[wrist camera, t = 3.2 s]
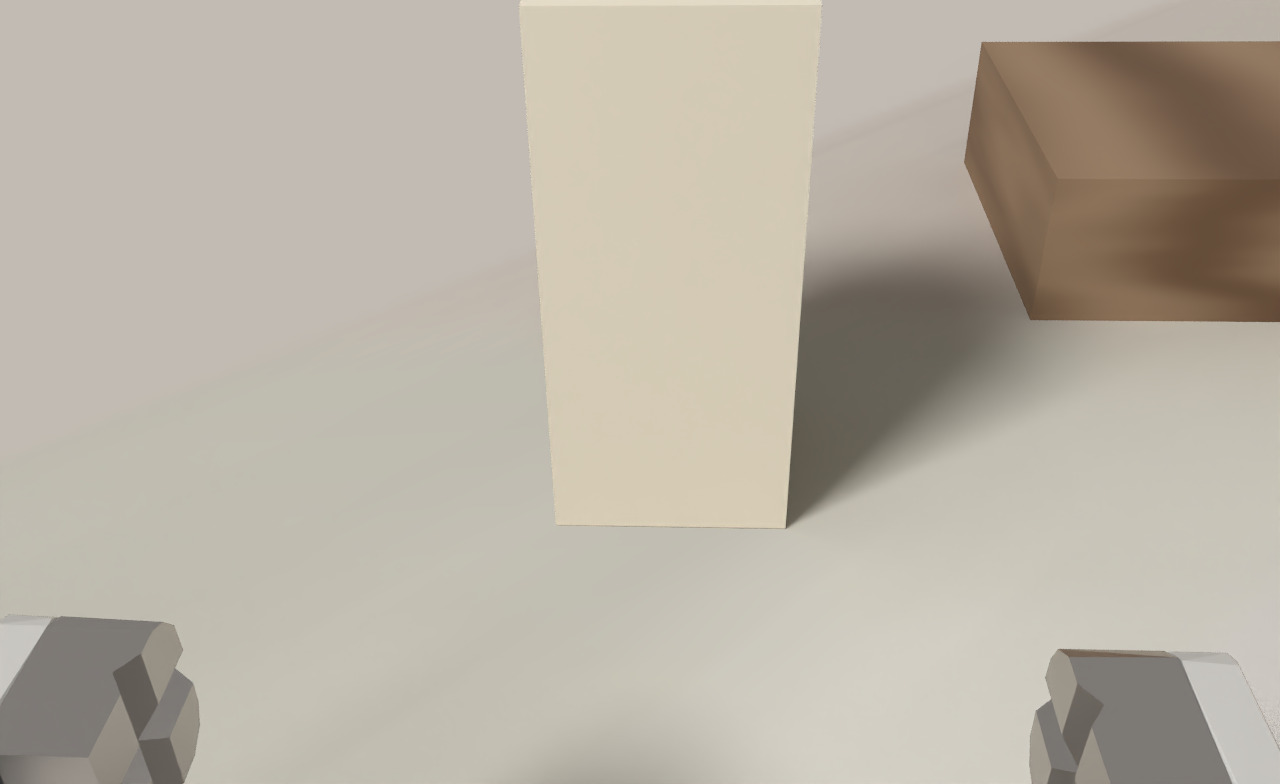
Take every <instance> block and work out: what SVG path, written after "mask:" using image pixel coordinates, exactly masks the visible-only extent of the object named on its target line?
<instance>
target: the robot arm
mask: <svg viewBox="0 0 1280 784" xmlns="http://www.w3.org/2000/svg"><path fill="white" fill-rule="evenodd" d="M182 651H183V648H182V646H181V643H180V640H179V637H178V635H177V632H176V629H175V626H174V625H171V624H168V623H164V622H152V621H134V620H116V619H99V618H81V617H63V616H61V617H48V616H29V615H11V614H9V615H7V616H6V617H4V618H3V619H1V620H0V784H183V783H184V782H185V779H186V777H187V774H188V771H189V769H190V766H191V764H192V761H193V759H194V756H195V751H196V745H197V739H198V733H199V727H200V718H199V703H198V698H197V695H196V691H195V688H194V684H193V683H192V682H191V681H190V680H189V679H187V678H186V677H185V676H184V675H183V674H181V673H180V672H179V671H178V670H176V669H175V667H176V665H177V662H178V660H179V658H180V656H181V654H182ZM1045 679H1046V682H1047V686H1048V689H1049V693H1050V696H1051V700H1050V701H1049V702H1047V703H1046V704H1045V705H1043V706H1042V707H1041V708H1039V709H1038V710H1037V711H1036V713H1035V717H1034V722H1033V726H1032V730H1031V735H1030V760H1029V766H1030V774H1031V781H1032V784H1280V748H1279V746H1278V744H1277V742H1276V740H1275V738H1274V736H1273V734H1272V732H1271V730H1270V728H1269V726H1268V724H1267V722H1266V720H1265V718H1264V715H1263V713H1262V711H1261V709H1260V707H1259V705H1258V703H1257V701H1256V699H1255V697H1254V695H1253V693H1252V691H1251V689H1250V687H1249V685H1248V682H1247V680H1246V678H1245V676H1244V674H1243V672H1242V670H1241V668H1240V666H1239V664H1238V662H1237V661H1236V660H1235V659H1234V658H1233V657H1232V656H1230V655H1229V654H1228V653H1211V652H1169V653H1167V652H1165V651H1135V650H1086V649H1058V650H1057V651H1056V652H1055V654H1054V655H1053V656H1052V658H1051V660H1050V663H1049V667H1048V670H1047V673H1046V677H1045Z"/></svg>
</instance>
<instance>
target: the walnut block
mask: <svg viewBox="0 0 1280 784" xmlns="http://www.w3.org/2000/svg"><path fill="white" fill-rule="evenodd" d="M964 163H965V165H966V168H967V170H968V172H969V175H970V177H971V180H972V182H973V184H974V187H975V189H976V191H977V194H978V196H979V199H980V201H981V203H982V206H983V208H984V211H985V213H986V215H987V218H988V220H989V222H990V225H991V227H992V230H993V232H994V234H995V237H996V239H997V242H998V244H999V246H1000V249H1001V251H1002V253H1003V256H1004V258H1005V261H1006V263H1007V265H1008V268H1009V270H1010V273H1011V275H1012V277H1013V280H1014V282H1015V284H1016V287H1017V289H1018V292H1019V294H1020V296H1021V299H1022V301H1023V304H1024V306H1025V308H1026V311H1027V313H1028V315H1029V318H1030V320H1103V321H1227V322H1280V41H1275V42H982V45H981V51H980V58H979V65H978V72H977V78H976V85H975V92H974V99H973V106H972V113H971V119H970V126H969V133H968V140H967V147H966V154H965V161H964Z"/></svg>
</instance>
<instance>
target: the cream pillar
mask: <svg viewBox="0 0 1280 784" xmlns="http://www.w3.org/2000/svg"><path fill="white" fill-rule="evenodd" d="M519 15H520V29H521V43H522V57H523V71H524V85H525V99H526V113H527V126H528V141H529V154H530V168H531V182H532V197H533V210H534V223H535V238H536V252H537V266H538V280H539V294H540V308H541V322H542V336H543V350H544V364H545V378H546V392H547V406H548V420H549V434H550V447H551V461H552V475H553V489H554V503H555V517H556V525H585V526H651V527H717V528H783V529H785V528H786V514H787V500H788V485H789V471H790V457H791V443H792V428H793V414H794V400H795V386H796V372H797V357H798V343H799V329H800V314H801V300H802V286H803V272H804V257H805V243H806V229H807V215H808V200H809V186H810V172H811V158H812V144H813V129H814V115H815V101H816V100H815V99H816V86H817V72H818V58H819V44H820V43H819V42H820V29H821V15H822V3H821V0H521V2H520V4H519Z"/></svg>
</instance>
